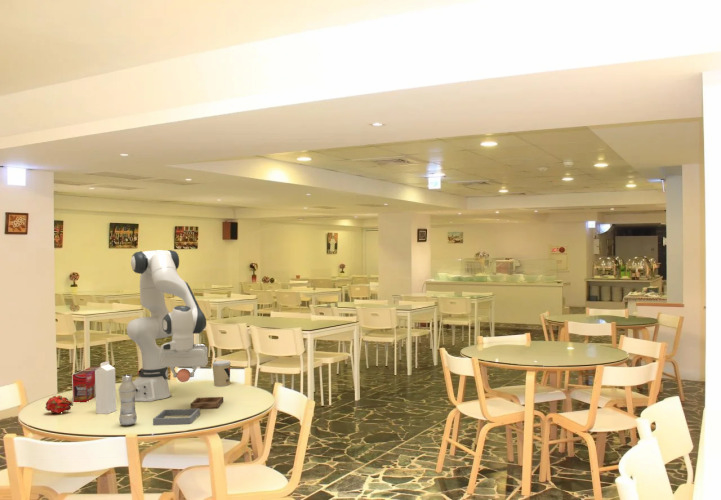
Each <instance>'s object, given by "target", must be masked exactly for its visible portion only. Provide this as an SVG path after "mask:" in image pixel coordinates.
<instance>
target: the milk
mask: <svg viewBox="0 0 721 500" xmlns="http://www.w3.org/2000/svg"><path fill="white" fill-rule="evenodd" d="M99 364H100V366H98V367H99V368H98V369H96V370H95V390H96V397H95V414H96V413H98V414H99V415H108V414H112V413H115V412H116V411H117V391H116V390H117V389H116V385H117V384H116V368H115V367H114V366H112V365H111V364H110V360H108V361H104V362H101V363H99ZM111 412H112V413H111Z"/></svg>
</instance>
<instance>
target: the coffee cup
mask: <svg viewBox="0 0 721 500" xmlns="http://www.w3.org/2000/svg"><path fill="white" fill-rule="evenodd" d="M212 372H213V374H212V375H213V376H212V377H213V383H214V386H215V387H217V388H219V387H227V386H230V383H231V361H230V360H216V361H213V362H212Z"/></svg>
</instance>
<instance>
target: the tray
mask: <svg viewBox="0 0 721 500" xmlns="http://www.w3.org/2000/svg"><path fill="white" fill-rule="evenodd" d="M222 404H224V396H213V397H212V396H211V397H209V396H206V397H205V396H204V397H196V398H195V399H194V400H193V401H192V402H190V404H189V406H190V408H189V409H200V410H208V409H210V410H211V409H212V410H213V409H219V408H220V407H221V405H222Z"/></svg>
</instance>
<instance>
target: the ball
mask: <svg viewBox="0 0 721 500" xmlns="http://www.w3.org/2000/svg"><path fill="white" fill-rule="evenodd" d="M176 373H177V377H176V378H177V380H178V382H181V383H185V382H188V381H189V380H190V379H191V377H190V373H191V371H190V370H189V369H187V368H181V369H179V370H178V371H177V372H176Z"/></svg>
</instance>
